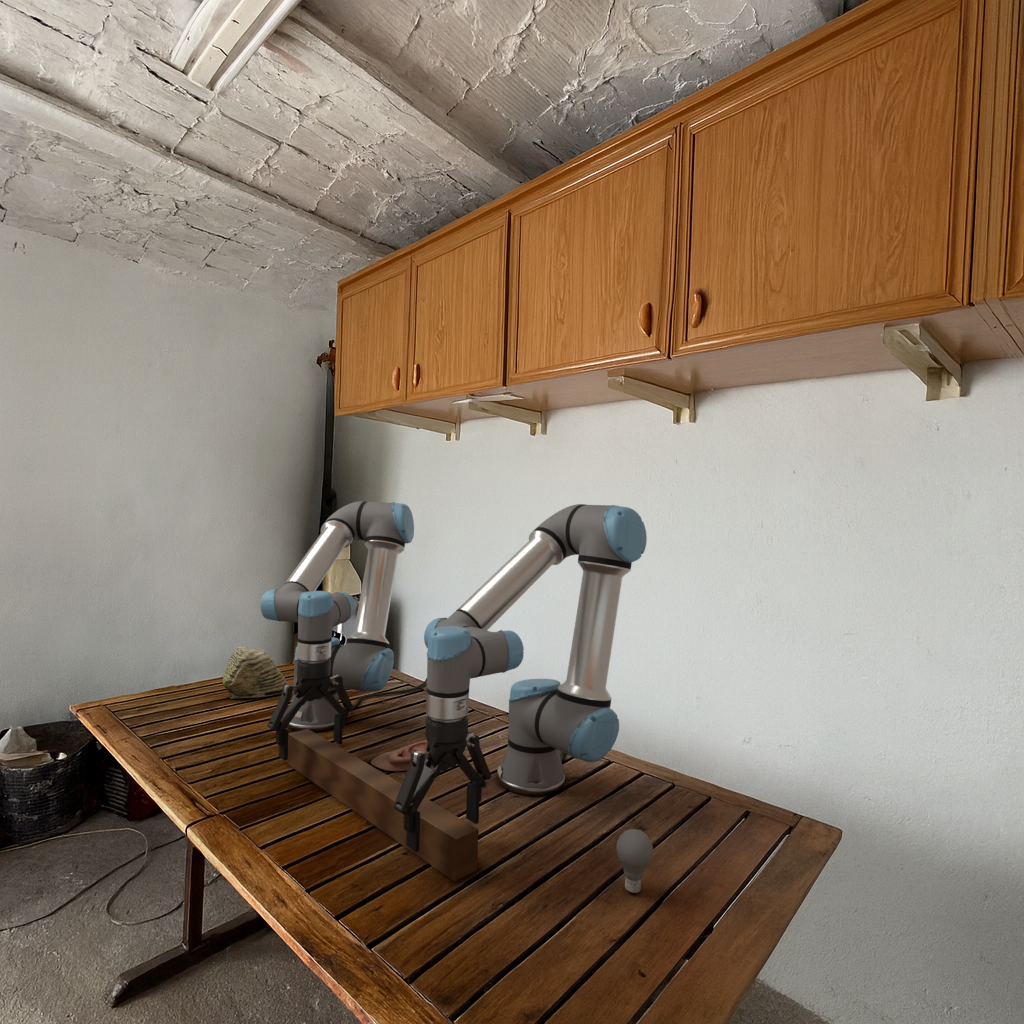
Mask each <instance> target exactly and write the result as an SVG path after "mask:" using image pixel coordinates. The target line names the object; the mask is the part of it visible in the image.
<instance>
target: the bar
mask: <svg viewBox="0 0 1024 1024" xmlns="http://www.w3.org/2000/svg"><path fill="white" fill-rule="evenodd" d="M286 765H288V766H289V767H291V768H292V769H293V770H295V771H296V772H298V773H299V774H301V775H302V776H304V777H305V778H306V779H307V780H309V781H310V782H312V783H314V784H315V785H316V786H318V788H320V789H322V790H323V791H324V792H326V793H327V794H328V795H330V796H332V797H333V798H335V799H336V800H337V801H339V803H342V804H343V805H344V806H346V807H347V808H349V809H350V810H352V811H353V812H355V813H356V814H357V815H359V816H360V817H362V818H363V819H365V820H366V821H368V822H369V823H371V824H372V825H373V826H374V827H375V828H377V829H379V830H380V831H381V832H383V833H385V834H386V835H387V836H389V837H390V838H392V839H393V840H394V841H396V842H397V843H399V844H400V845H402V847H404V848H406V849H407V850H408V851H410V852H412V854H414V855H416V856H417V857H418V858H420V859H422V861H424V862H426V864H428V865H430V866H431V867H433V868H434V869H435V870H436V871H438V872H439V873H441V874H443V875H444V876H446V877H447V878H449V879H450V880H451V881H453V882H456V881H458V880H461V879H462V878H464V877H466V876H469V875H470V874H472V873H474V872H476V871H477V870H478V852H479V851H478V850H479V849H478V848H479V828H477V827H476V826H474V825H473V824H471V823H469V822H467V821H466V820H464V819H462V818H461V817H458V816H457V815H456V814H454V813H452V812H451V811H448V810H447V809H445V808H443V807H442V806H440V805H438V804H437V803H435V802H434V801H432V800H430V799H428V798H427V797H426V796H425V797H424V799H423V800H422V802H421V804H420V806H419V807H418V809H417V811H418V812H420V841H419V851H417V852H415V851H413V850H412V849H410V848H409V847H408V846H406V833H407V831H406V830H404V814H402V813H400V812H399V811H397V810H396V809H394V803H395V801H396V798H397V796H398V793H399V790H400V788H401V785H402V783H401V782H399V781H398V780H396V779H394V778H392V777H391V776H389V775H388V774H387V773H385V772H382V771H381V770H379V769H377V767H375V766H373V765H372V764H369V763H367V762H366V761H364V760H363V759H360V758H359V757H357V756H355V755H354V754H352V753H350V752H348V751H347V750H345V749H344V748H342V747H340V746H338V744H335V743H333V742H331V741H330V740H328V739H327V738H325V737H323V736H322V735H320V734H318V733H316V732H313V731H311V730H309V729H305V730H301V731H293V732H288V760H286ZM411 805H412V803H411Z"/></svg>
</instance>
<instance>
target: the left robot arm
mask: <svg viewBox="0 0 1024 1024" xmlns="http://www.w3.org/2000/svg"><path fill="white" fill-rule="evenodd" d="M414 521H415V520H414V516H413V512H412V510H411V508H410V506H408V504H405V503H399V502H394V501H393V502H392V501H391V502H383V501H366V500H365V501H364V500H361V501H360V500H358V501H354V502H351V503H348V504H346V505H344V506H342V507H340V508H338V510H335V512H333V513H332V514H331V515H330V516H328V517H327V519H326V520H325V521H324V522H323V524H322V525H321V527H320V534H319V535H318V537H317V538H316V540H315V541H314V542H313V544H312V545H311V547H309V549H308V550H307V552H306V553H305V555H304V556H303V558H302V559H301V560H300V562H299V563H298V564H297V566H296V567H295V568H294V570H293V571H292V572H291V574H290V575H289V576H288V578H287V579H286V581H285V582H284V584H283V585H282V586H281V587H280V588H279V589H277V588H274V589H268V590H267V591H265V592H264V593H263V595H262V597H261V599H260V603H259V604H260V605H259V606H260V607H259V608H260V612H261V615H262V617H263V618H264V619H266V620H270V621H276V622H289V623H297V645H296V647H295V652H294V653H295V654H294V659H293V661H294V672H293V684H288V683H286V684H284V685H283V689H282V693H281V694H280V697H279V699H278V702H277V704H276V706H275V708H274V710H273V712H272V714H271V716H270V719H269V721H268V723H267V728H268V729H270V730H271V731H274V732H275V743H276V745H278V748H279V749H278V757H279V758H280V759H281V760H283V761H287V760H288V734H289V730H291V731H294V732H297V731H301V730H305V729H309V730H311V731H313V732H315V733H316V732H317V733H318V732H325V731H329V730H332V729H333V742H334V743H336V745H339V746H340V745H343V735H344V733H343V731H344V729H345V728H346V726H347V725H346V722H347V717H348V716H349V714H350V712H354V709H355V708H356V707H357V706H358V705H359V703H360V701H362V700H364V699H368V698H373V697H380V696H388V695H394V694H395V695H396V694H404V693H405V694H406V693H409V692H414V691H416V690H419V689H420V688H422V687H424V686H425V685H427V677H426V678H425V680H424V681H423V682H422V683H421V684H419V685H417V686H415V687H412V688H407V689H402V690H393V691H392V690H391V691H385V692H379V691H381V690H382V689H383V688H384V687H385V686H386V685H387V684H388V682H389V680H390V677H391V675H392V672H393V669H394V663H395V660H394V658H395V654H394V653H395V652H393V650H392V649H391V648H390V641H388V639H387V637H386V632H387V631H386V630H387V626H388V619H389V613H390V606H391V601H392V594H393V588H394V581H395V576H396V569H397V564H398V557H399V555H400V554H401V553H403V552H404V551H405V549H406V545H407V544H411V543H412V542H413V539H414V536H415V522H414ZM355 541H364V544H363V545H364V546H365V548H366V549H367V550H368V551H367V556H366V561H365V568H364V572H363V573H364V574H363V578H362V579H363V580H362V585H361V590H360V595H359V601H358V607H357V604H356V600H355V598H354V597H353V595H351V594H350V593H348V592H345V591H336V592H333V593H331V592H329V591H327V590H317V589H318V587H319V586H320V585H321V583H322V581H323V580H324V578H325V577H326V575H327V574H328V572H329V571H330V569H331V568H332V567H333V565H334V563H335V562H336V561H337V559H338V557H340V555H341V553H342V552H343V550H344V549H346V548H348V547H349V546H350V545H352V543H353V542H355ZM356 609H357V612H356ZM355 613H356V618H355V624H354V628H353V629H354V630H353V632H352V633H351V634H350V635H349V636H347V638H346V641H345V644H340V643H341V641H340V639H339V638H338V637H334V636H333V628H335V627H336V626H339V625H342V624H345V623H347V622H348V620H350V619H351V618H353V617H354V615H355ZM347 690H351V691H359V692H360V691H361V692H365V693H366V692H377V693H370V694H366V695H363V696H359V697H358V698H357V700H355V703H354V704H353V703H352V701H351V699H350V697H349V694H348V692H347ZM292 696H293V697H292ZM341 704H342V705H341ZM288 729H289V730H288Z"/></svg>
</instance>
